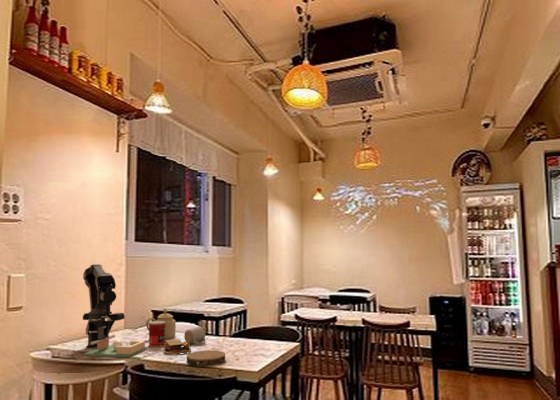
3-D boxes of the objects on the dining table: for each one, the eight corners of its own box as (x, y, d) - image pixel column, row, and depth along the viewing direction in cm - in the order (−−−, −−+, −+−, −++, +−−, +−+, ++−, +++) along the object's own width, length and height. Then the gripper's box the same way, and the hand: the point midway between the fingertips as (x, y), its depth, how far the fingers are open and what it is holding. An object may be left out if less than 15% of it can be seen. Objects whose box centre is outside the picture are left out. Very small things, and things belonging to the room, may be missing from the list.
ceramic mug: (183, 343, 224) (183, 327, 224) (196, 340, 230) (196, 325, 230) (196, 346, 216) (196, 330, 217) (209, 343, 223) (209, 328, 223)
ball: (110, 351, 205) (110, 341, 206) (115, 348, 210) (116, 339, 210) (118, 351, 204) (119, 341, 205) (124, 349, 209) (124, 339, 209)
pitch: (84, 355, 202) (84, 346, 202) (105, 347, 217) (105, 339, 218) (128, 357, 197) (128, 347, 197) (146, 349, 212) (146, 340, 213)
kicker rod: (88, 352, 201) (89, 330, 202) (110, 344, 217) (111, 324, 218) (94, 352, 200) (94, 330, 201) (116, 344, 217) (116, 324, 218)
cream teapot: (160, 341, 231) (160, 311, 232) (144, 339, 236) (145, 310, 238) (179, 335, 244) (179, 307, 246) (164, 334, 249) (164, 306, 251)
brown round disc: (233, 361, 188) (233, 353, 189) (203, 369, 176) (203, 361, 177) (208, 355, 199) (208, 348, 199) (179, 362, 187) (179, 355, 187)
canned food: (161, 346, 217) (161, 323, 219) (145, 346, 219) (146, 323, 220) (168, 343, 225) (168, 320, 226) (153, 342, 227) (153, 320, 228)
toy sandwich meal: (166, 357, 197) (166, 345, 198) (160, 350, 209) (160, 340, 210) (194, 353, 203) (194, 342, 203) (186, 347, 215) (186, 337, 215)
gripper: (75, 303, 205) (74, 338, 204) (111, 303, 201) (110, 339, 199) (90, 300, 216) (89, 333, 214) (125, 300, 212) (124, 334, 210)
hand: (103, 335), depth 209 cm, fingers open, 4 cm apart
